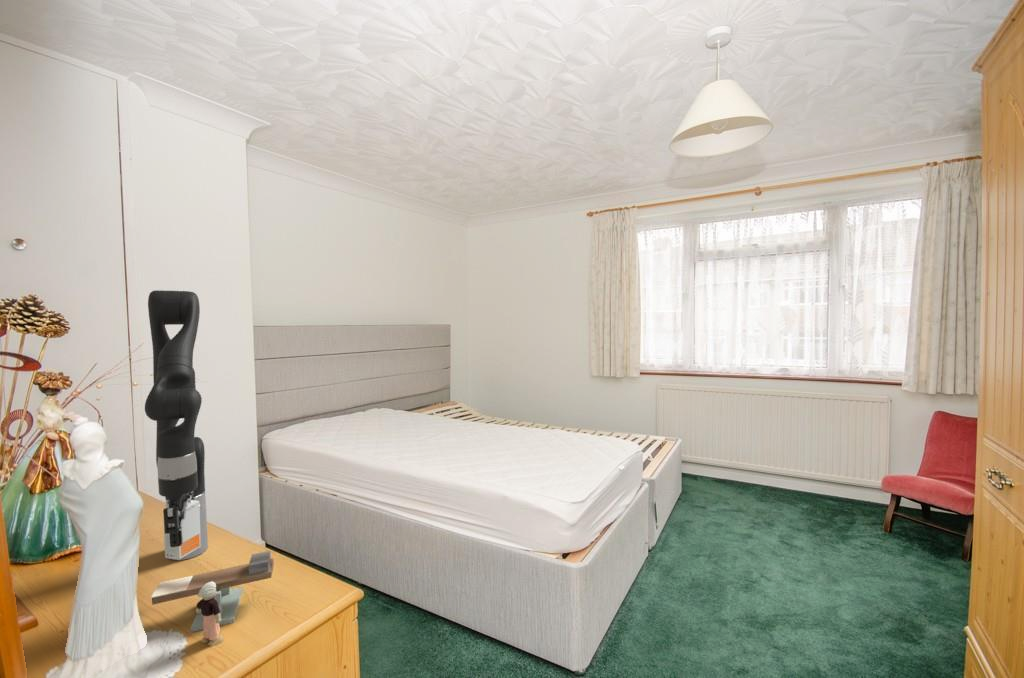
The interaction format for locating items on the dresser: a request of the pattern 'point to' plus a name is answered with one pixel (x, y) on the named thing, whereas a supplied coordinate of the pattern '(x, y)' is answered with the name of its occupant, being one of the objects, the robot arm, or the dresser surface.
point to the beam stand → (222, 607)
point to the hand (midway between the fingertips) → (181, 537)
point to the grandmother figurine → (210, 614)
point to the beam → (216, 579)
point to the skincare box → (186, 533)
